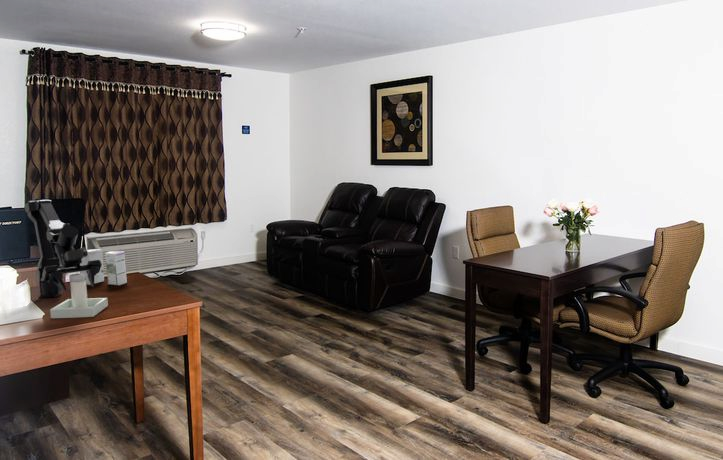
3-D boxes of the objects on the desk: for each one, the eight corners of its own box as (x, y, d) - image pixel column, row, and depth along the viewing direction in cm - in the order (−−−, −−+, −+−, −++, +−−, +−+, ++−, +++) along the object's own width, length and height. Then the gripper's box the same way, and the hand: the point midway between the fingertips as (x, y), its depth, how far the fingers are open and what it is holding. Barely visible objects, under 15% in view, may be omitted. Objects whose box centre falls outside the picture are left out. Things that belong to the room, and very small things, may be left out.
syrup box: (127, 282, 234) (125, 250, 232) (117, 285, 228) (115, 253, 227) (117, 281, 236) (115, 250, 234) (107, 284, 230) (104, 252, 228)
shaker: (69, 311, 188) (66, 275, 186) (82, 307, 192) (79, 272, 191) (78, 312, 186) (75, 277, 184) (91, 309, 190) (89, 274, 188)
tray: (50, 318, 181) (50, 309, 181) (68, 307, 195) (68, 299, 195) (93, 316, 183) (92, 308, 182) (107, 305, 197) (107, 297, 196)
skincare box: (90, 285, 230) (88, 251, 228) (79, 284, 232) (77, 251, 230) (105, 281, 238) (102, 248, 236) (94, 280, 240) (92, 248, 238)
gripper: (41, 244, 182) (54, 280, 176) (98, 238, 195) (111, 271, 189) (37, 263, 188) (49, 298, 182) (91, 256, 202) (105, 288, 196)
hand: (79, 288), depth 187 cm, fingers open, 9 cm apart
